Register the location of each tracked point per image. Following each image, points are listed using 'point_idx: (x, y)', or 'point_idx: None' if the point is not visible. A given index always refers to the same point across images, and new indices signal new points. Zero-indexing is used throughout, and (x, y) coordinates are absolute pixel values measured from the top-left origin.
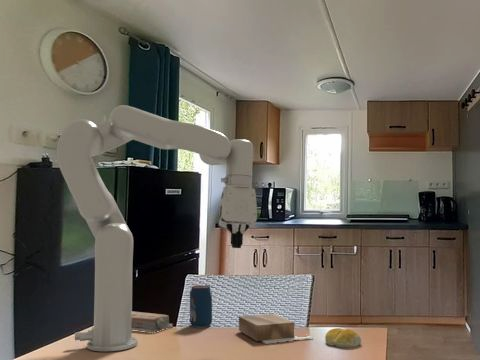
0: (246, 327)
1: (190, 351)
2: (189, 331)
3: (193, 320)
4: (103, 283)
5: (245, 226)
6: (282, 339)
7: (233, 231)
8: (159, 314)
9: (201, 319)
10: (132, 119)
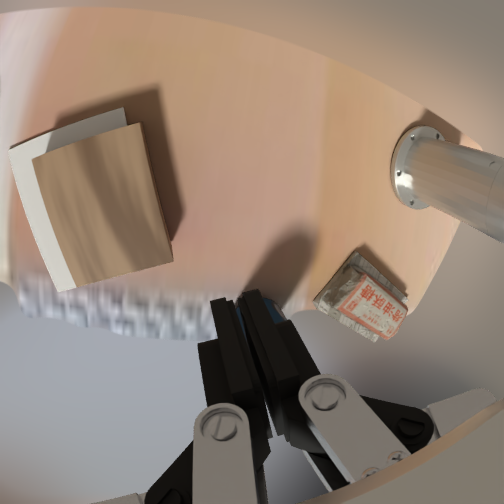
0: (157, 197)
1: (307, 79)
2: (286, 263)
3: (277, 306)
4: None
5: (193, 490)
6: (76, 133)
7: (335, 393)
8: (350, 310)
9: None
10: None
